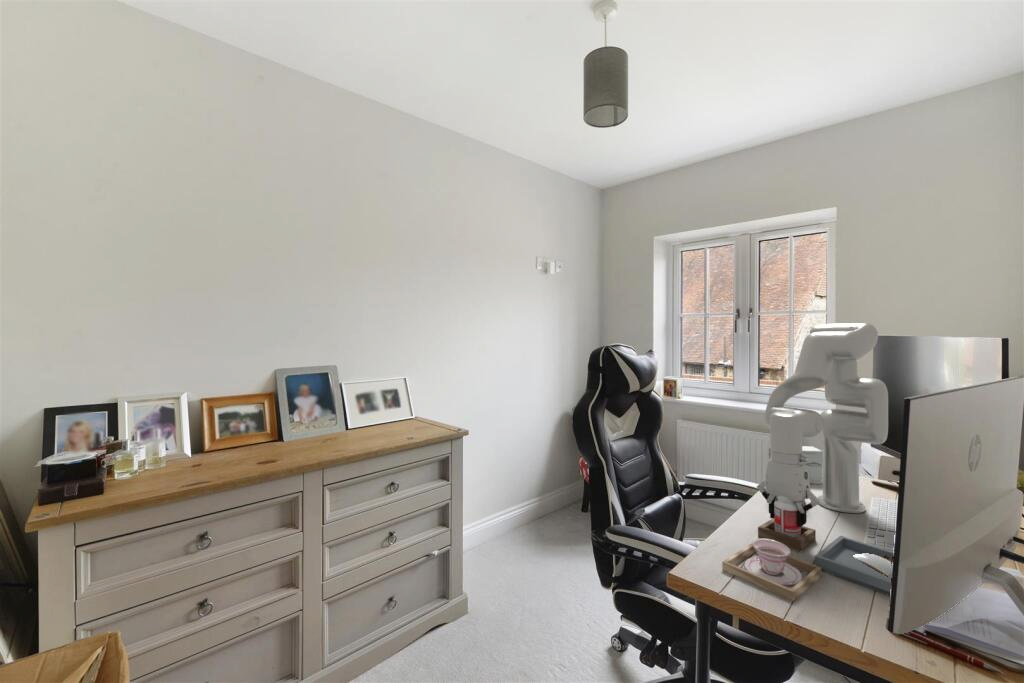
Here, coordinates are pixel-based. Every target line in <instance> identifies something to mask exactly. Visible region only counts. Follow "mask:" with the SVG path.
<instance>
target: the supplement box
mask: <svg viewBox="0 0 1024 683" xmlns="http://www.w3.org/2000/svg"><path fill="white" fill-rule="evenodd" d="M802 453H803V455H804V456H805V457H808V462H803V463H804V464H806V466H807V469H808V474H809V480H810V484H813V485H814V484H816V485H823V450H822V449H819V448H817V447H815V446H809V445H808V446H807V445H806V446H805V445H802Z"/></svg>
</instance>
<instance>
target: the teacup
mask: <svg viewBox="0 0 1024 683" xmlns="http://www.w3.org/2000/svg"><path fill="white" fill-rule="evenodd" d="M752 543H753V547H754V549H755V550H756V551H757V553H756V554H757V555H758V556H754V557H750V558H747V559H746V560H745V561H744V568H745V570H747V571H749V572H752V573H754V574H756V575H759V576H761V577H764V578H766V579H768V580H771V581H773V582H775V583H778V584H780V585H782V586H786V587H787V586H795V585H796V584H797V583H799V582H800V581H801V580H802V579H803V576H802V573H801V572H800V571H799V569H797V568H795V567H793V566H792V565H790V564H788V563H785V562H784V561H785V560H787V557H788V556H791V549H789V548H788V547H787V546H786V545H784V544H782V543H780V542H778V541H775V540H771V539H765V538H755V539H754V540H753V542H752ZM782 572H783V575H782V576H779V575H780V573H782Z"/></svg>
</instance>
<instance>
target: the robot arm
mask: <svg viewBox="0 0 1024 683" xmlns="http://www.w3.org/2000/svg"><path fill="white" fill-rule="evenodd" d="M878 339H879V333H878V331H877V328H876V327H875V326H874V325H873V324H870V323H867V322H848V323H823V324H817V325H814V326H812V327H811V328H810V330H809V334H807V335H806V336H805V338H804V339H803V343H802V347H801V349H800V354H799V355H798V359H797V362H796V366H795V370H794V373H793V374H792V375H791V376H789V377H788V378H786V379H785V380H783V381H782V382H781V383H780V384H779V385H777V386H776V387H775V388H774V390H773V391H772V392H771V394H770V395H769V398H768V401H767V404H766V406H765V410H764V423H765V425H766V427H767V428H768V429H769V437H770V438H769V440H770V443H769V444H770V447H769V449H770V454H771V458H770V459H769V458H768V460H767V464H766V469H765V475H764V476H765V478H764V479H765V480H763V481H762V482H761V483H759V484H757V486H756V488H757V490H758V491H759V492H760V493H761V495H762V497H763V498H764V499H765V500H766V504H768V514H769V517H770V519H773V518H774V502H775V501H776V498H777V497H779V496H784V497H787V498H788V499H789V500H792V501H795V502H796V504H797V507H798V509H799V511H798V512H797V526H798V527H802V526H805V525H806V524H807V519H808V518H807V512H808V511H810V510H811V509H813V508H815V507H816V506H818V505H820V506H822V507H823V508H826V509H829V510H833V511H835V512H842V513H847V514H861V513H863V512H865V511H866V505H865V504H864V503H862V502H861V501H860V456H859V452H858V449H857V448H856V447H855V445H854V444H853V442H858V443H862V444H869V445H882V444H884V443H885V442H886V441H887V439H888V434H889V392H888V391H889V390H888V388H887V386H886V383H884V381H882V380H880V379H877V378H874V377H872V378H871V377H859V375H858V361H857V360H860V359H862V358H863V357H864V356H866V355H868V354H869V352H870V353H871V351H872V350H874V348H875V347H876V346H877V342H878V341H879V340H878ZM822 387H824V397H825V400H826V401H827V402H828V403H829V404H832V405H836V406H841V407H843V406H844V407H851V408H859V409H860V408H862V409H864V410H865V411H866V412H865V411H855V410H849V409H840V408H829V409H825V410H824V411H822V412H821V413H819V412H818V411H816V410H812V409H806V408H798V407H791V406H784V405H785V404H786V402H787V401H789V399H792V398H793V397H794V396H797V395H799V394H801V393H805V392H808V391H812V390H815V389H819V388H822ZM819 434H820V436H821V441H822V442H821V443H822V444H821V448H822V449H821V451H823V464H822V466H823V468H822V470H823V483H822V495H819V496H816V495H815V494H814V493H813V492H812V491H811V483H810V480H809V474H808V469H807V466H806V464H804V463H803V462H808V457H805V456H804V455H803V453H802V446H803V438H810V437H815V436H818V435H819ZM806 500H810V502H809V503H807V502H806Z"/></svg>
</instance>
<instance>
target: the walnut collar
mask: <svg viewBox="0 0 1024 683" xmlns="http://www.w3.org/2000/svg"><path fill="white" fill-rule="evenodd" d="M816 537H817V536H816V529H814V528H811V527H808V526H805V525H803V526H802V527H801V535H800V536H799V537H797V538H795V537H792V536H789V535H786V534H783V533H780V532H777V531H775V523H774V518H770V519H769V520H768V521H766V522H764V523H763V524H762V523H761V525H759V526H758V527H757V539H760V538H765V539H771V540H775V541H778V542H780V543H782V544H784V545H786V546H787V547H788V548H789V549H790V551H791V550H792V551H794V552H797V553H801V552H803V551H804V550H805V549H806V548H808V547H809V546H811V544H813V543H815V542H816V539H817V538H816Z"/></svg>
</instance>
